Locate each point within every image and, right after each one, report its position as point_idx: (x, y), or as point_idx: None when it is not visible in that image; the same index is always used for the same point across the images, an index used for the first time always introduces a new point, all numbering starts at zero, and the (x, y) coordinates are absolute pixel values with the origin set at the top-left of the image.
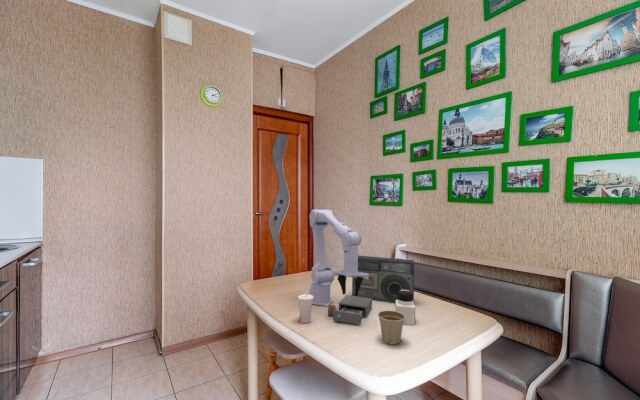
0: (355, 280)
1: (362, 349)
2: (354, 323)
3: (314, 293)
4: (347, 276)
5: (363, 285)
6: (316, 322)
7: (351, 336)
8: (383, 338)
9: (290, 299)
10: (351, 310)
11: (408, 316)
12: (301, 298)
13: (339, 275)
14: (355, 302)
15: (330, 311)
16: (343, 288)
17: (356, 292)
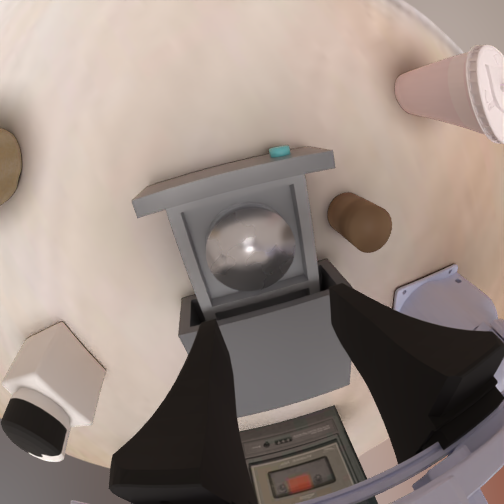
0: (186, 473)
1: (53, 16)
2: (177, 177)
3: (467, 298)
4: (390, 471)
5: (306, 458)
6: (367, 97)
7: (130, 57)
8: (2, 130)
9: (495, 253)
10: (251, 270)
11: (25, 352)
12: (500, 58)
13: (494, 404)
14: (269, 350)
15: (358, 200)
16: (364, 314)
17: (197, 343)
